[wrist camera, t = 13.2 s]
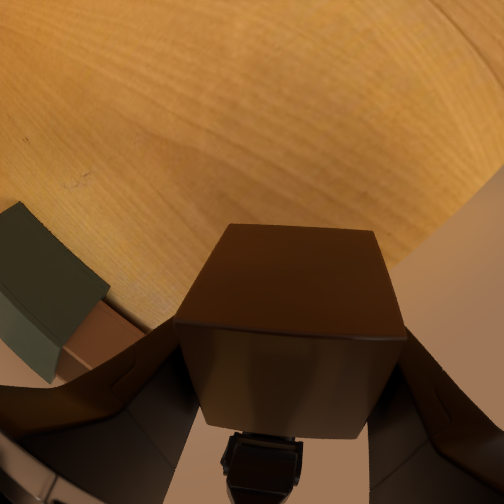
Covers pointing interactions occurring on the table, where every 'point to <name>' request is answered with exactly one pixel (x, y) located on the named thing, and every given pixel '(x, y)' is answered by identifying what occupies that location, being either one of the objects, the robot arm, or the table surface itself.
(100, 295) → the cabinet
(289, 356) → the block
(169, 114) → the table surface
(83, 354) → the drawer
